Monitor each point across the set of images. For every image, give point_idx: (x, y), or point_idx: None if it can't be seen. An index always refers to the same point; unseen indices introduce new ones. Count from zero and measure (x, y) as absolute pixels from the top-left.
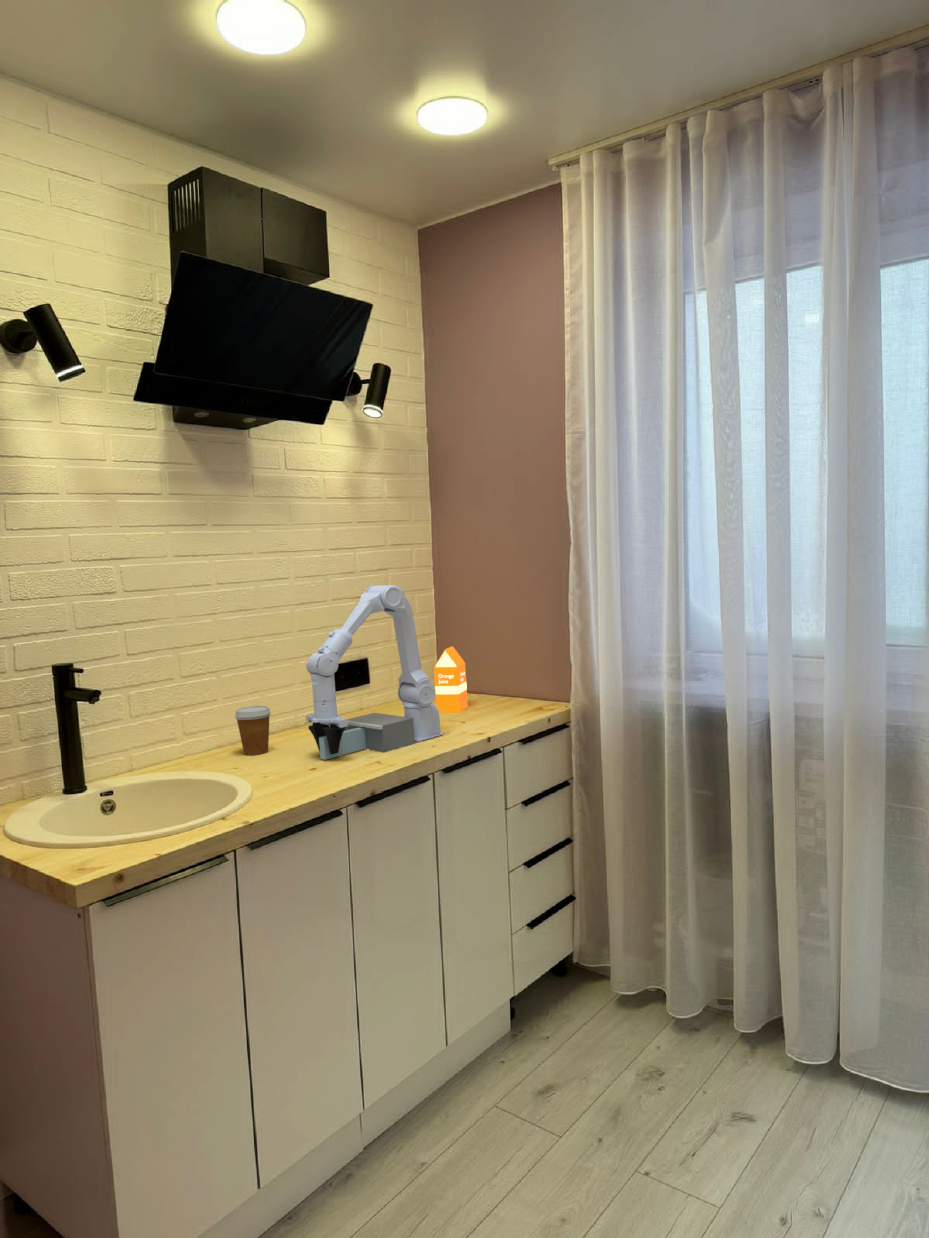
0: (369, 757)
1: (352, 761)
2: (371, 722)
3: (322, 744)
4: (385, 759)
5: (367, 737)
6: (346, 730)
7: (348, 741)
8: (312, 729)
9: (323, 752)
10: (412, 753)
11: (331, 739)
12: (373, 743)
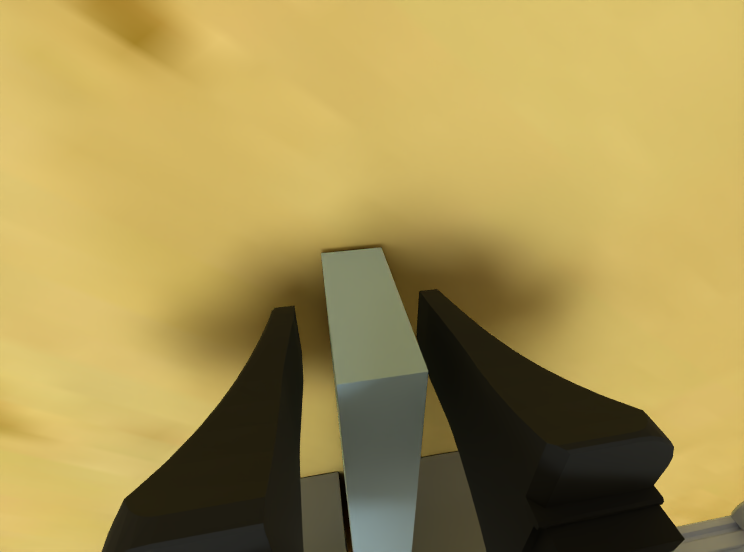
0: (160, 431)
1: (137, 344)
2: None
3: (359, 327)
4: (30, 461)
5: (332, 543)
6: (411, 549)
7: (344, 472)
8: (556, 422)
9: (345, 282)
10: (71, 549)
11: (215, 411)
12: None
